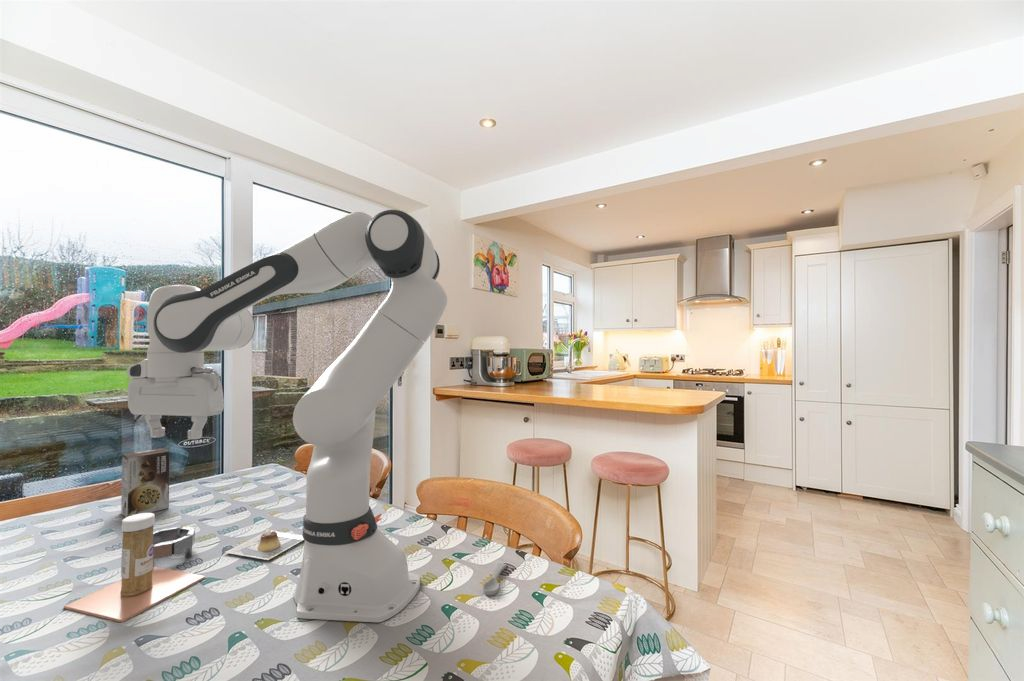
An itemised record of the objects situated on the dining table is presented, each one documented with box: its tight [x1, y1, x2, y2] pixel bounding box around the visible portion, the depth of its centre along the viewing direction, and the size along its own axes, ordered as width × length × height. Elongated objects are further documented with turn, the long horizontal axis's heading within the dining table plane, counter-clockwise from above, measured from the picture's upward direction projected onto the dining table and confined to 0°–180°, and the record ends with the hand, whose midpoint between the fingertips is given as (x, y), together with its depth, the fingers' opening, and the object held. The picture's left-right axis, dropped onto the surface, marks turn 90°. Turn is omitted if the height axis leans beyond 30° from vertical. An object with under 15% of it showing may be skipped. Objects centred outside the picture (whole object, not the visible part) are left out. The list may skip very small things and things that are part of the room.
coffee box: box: [120, 447, 171, 518], centre depth 117 cm, size 9×6×16 cm
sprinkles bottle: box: [120, 512, 156, 597], centre depth 77 cm, size 5×5×14 cm
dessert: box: [224, 527, 305, 561], centre depth 96 cm, size 12×12×5 cm
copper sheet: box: [63, 565, 206, 623], centre depth 77 cm, size 14×14×1 cm
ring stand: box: [153, 525, 196, 566], centre depth 90 cm, size 10×10×4 cm
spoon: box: [482, 562, 508, 597], centre depth 82 cm, size 3×12×2 cm, turn 169°
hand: (176, 438), depth 83 cm, fingers open, 8 cm apart
